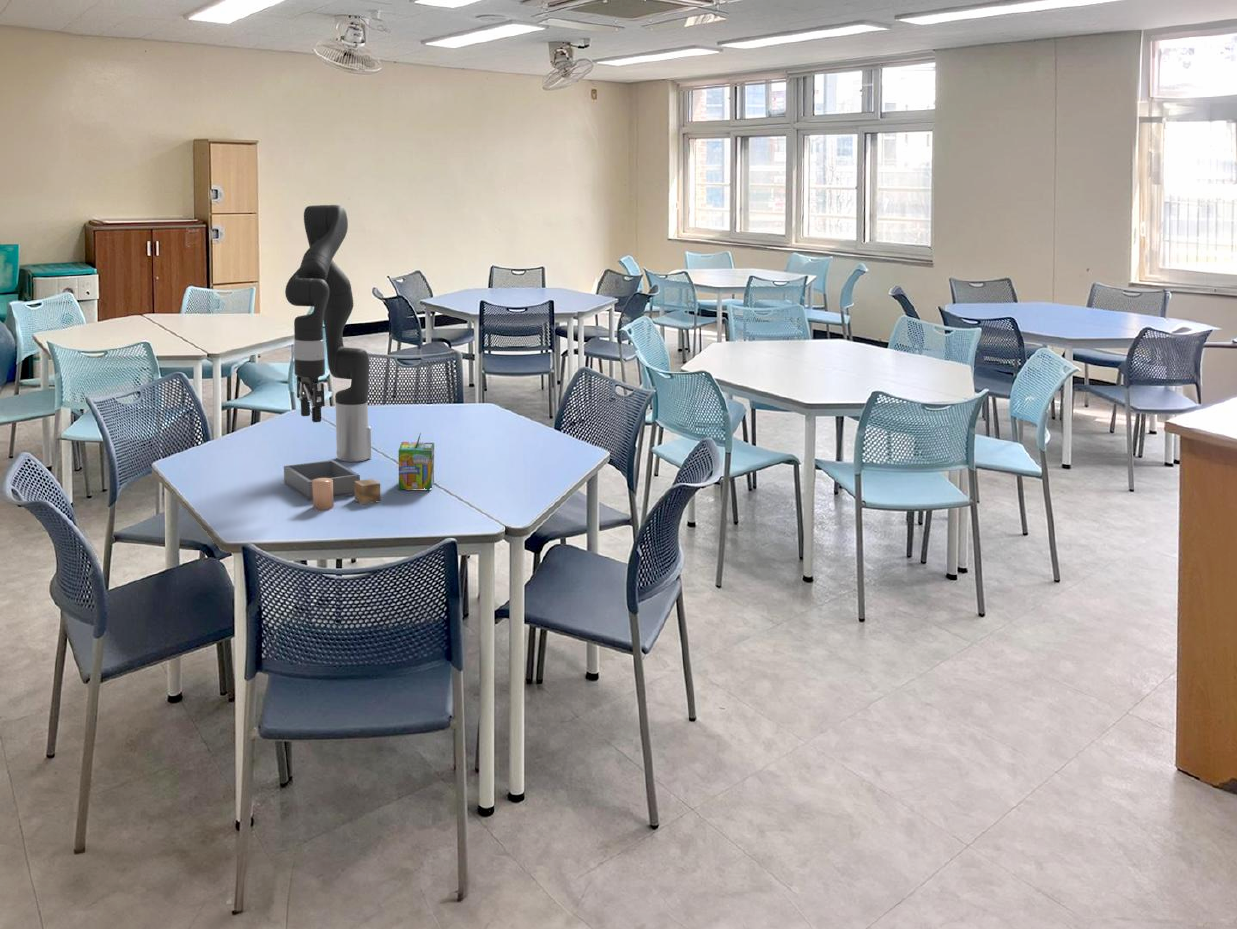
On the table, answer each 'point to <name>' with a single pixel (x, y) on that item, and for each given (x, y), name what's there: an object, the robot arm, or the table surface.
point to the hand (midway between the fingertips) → (311, 418)
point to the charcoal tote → (303, 475)
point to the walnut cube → (367, 491)
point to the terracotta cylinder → (322, 493)
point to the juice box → (416, 465)
